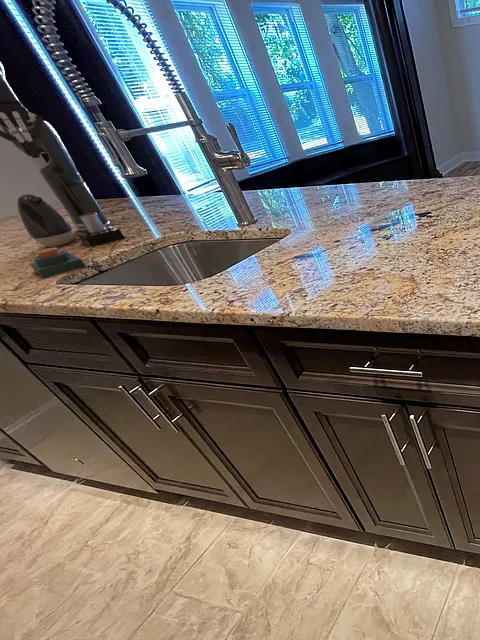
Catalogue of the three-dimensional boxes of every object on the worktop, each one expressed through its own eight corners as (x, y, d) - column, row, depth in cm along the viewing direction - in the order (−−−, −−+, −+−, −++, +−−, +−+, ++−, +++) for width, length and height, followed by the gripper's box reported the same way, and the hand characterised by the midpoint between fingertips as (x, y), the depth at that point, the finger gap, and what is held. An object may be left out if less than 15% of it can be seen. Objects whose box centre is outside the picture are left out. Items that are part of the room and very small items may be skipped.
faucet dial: (91, 233, 133) (79, 216, 130) (87, 232, 135) (76, 214, 132) (107, 230, 136) (97, 212, 133) (103, 228, 138) (93, 211, 135)
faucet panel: (82, 242, 137) (75, 232, 135) (114, 234, 143) (109, 225, 141) (91, 247, 132) (84, 236, 130) (125, 238, 138) (118, 228, 136)
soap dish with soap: (35, 271, 115) (24, 257, 113) (75, 261, 121) (66, 247, 119) (44, 278, 110) (32, 263, 108) (86, 266, 116) (76, 252, 114)
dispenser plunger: (39, 257, 113) (35, 251, 112) (58, 253, 116) (54, 246, 115) (43, 260, 111) (38, 253, 110) (62, 255, 114) (57, 248, 113)
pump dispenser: (55, 249, 132) (18, 198, 123) (31, 249, 134) (-7, 199, 125) (87, 239, 140) (55, 190, 131) (64, 239, 142) (30, 191, 133)
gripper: (16, 79, 112) (62, 153, 122) (-55, 83, 104) (1, 161, 114) (22, 78, 108) (69, 154, 119) (-51, 81, 100) (6, 162, 110)
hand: (36, 157), depth 116 cm, fingers closed
